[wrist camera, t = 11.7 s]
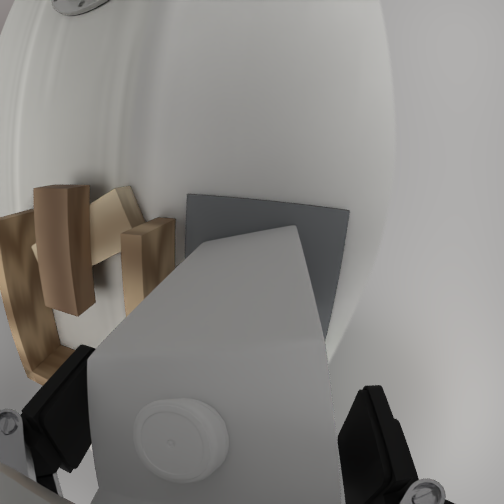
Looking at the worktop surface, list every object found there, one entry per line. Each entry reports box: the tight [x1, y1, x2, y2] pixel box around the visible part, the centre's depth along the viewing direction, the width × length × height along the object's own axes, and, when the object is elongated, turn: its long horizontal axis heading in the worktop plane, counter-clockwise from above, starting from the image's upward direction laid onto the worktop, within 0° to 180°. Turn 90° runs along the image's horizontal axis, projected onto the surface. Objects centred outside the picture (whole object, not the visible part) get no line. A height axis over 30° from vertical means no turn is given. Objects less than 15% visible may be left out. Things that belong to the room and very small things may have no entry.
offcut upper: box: [34, 185, 96, 316], centre depth 20 cm, size 4×10×3 cm, turn 174°
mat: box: [185, 194, 350, 341], centre depth 23 cm, size 12×12×1 cm
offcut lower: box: [31, 186, 146, 266], centre depth 23 cm, size 4×12×3 cm, turn 113°
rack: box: [0, 209, 175, 385], centre depth 22 cm, size 18×17×6 cm
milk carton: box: [87, 225, 341, 504], centre depth 13 cm, size 7×7×19 cm
